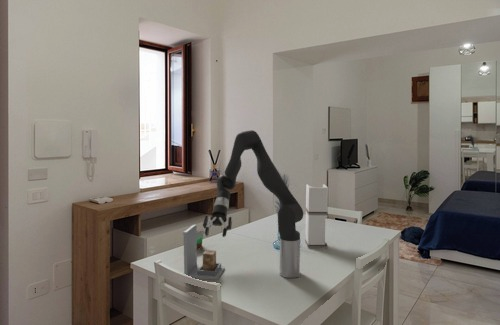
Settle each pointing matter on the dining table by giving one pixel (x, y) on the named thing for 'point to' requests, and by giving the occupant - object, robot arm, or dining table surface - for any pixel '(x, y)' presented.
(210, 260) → the walnut block
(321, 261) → the dining table surface
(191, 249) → the grey socket stand
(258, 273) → the dining table surface
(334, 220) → the dining table surface
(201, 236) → the food container
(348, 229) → the dining table surface
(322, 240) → the white square tower
